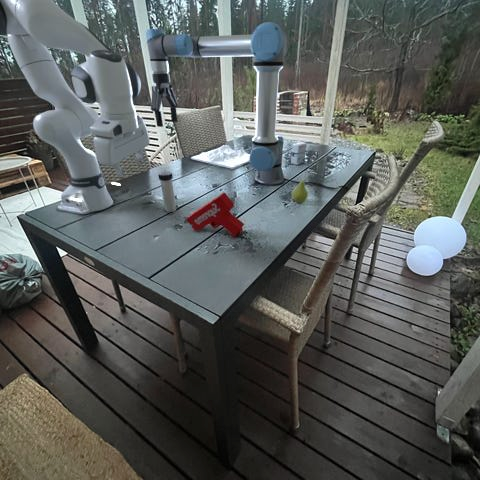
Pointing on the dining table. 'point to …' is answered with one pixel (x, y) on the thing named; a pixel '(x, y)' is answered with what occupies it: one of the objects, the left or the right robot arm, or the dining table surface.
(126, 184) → the dining table surface
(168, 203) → the bottle
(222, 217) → the toy gun
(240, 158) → the relief map
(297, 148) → the ink box
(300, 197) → the fruit
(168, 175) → the lid
